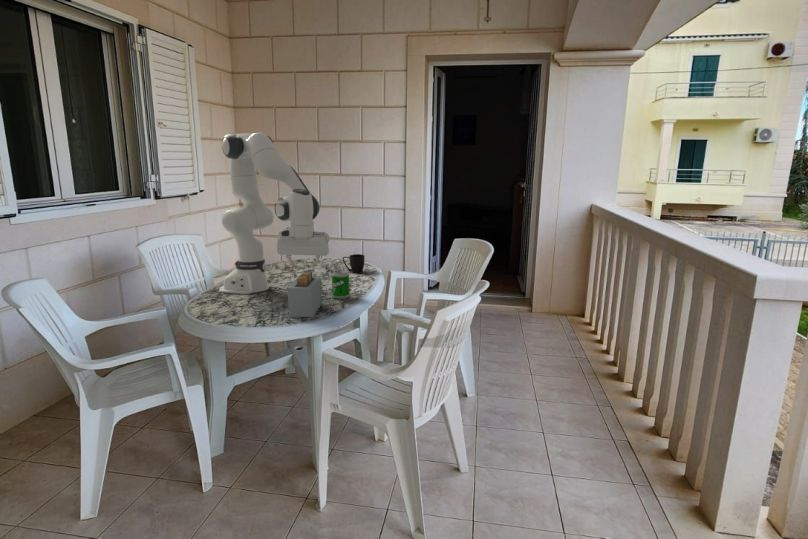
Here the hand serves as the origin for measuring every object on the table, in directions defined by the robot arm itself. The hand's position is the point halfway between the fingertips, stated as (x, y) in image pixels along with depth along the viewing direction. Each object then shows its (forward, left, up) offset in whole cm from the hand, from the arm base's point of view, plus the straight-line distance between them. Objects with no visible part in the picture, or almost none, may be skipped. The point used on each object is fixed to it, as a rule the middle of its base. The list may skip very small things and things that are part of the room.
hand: (303, 265), depth 180 cm
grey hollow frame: (0, 0, -19) cm, 19 cm away
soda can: (+11, +19, -19) cm, 29 cm away
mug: (+10, +67, -19) cm, 70 cm away
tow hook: (+9, +31, -19) cm, 37 cm away
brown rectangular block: (0, 0, -12) cm, 12 cm away
